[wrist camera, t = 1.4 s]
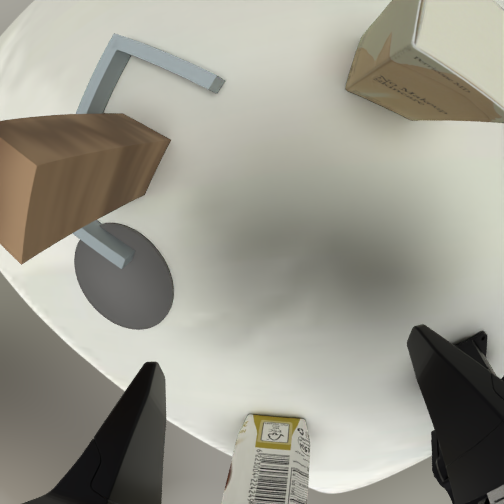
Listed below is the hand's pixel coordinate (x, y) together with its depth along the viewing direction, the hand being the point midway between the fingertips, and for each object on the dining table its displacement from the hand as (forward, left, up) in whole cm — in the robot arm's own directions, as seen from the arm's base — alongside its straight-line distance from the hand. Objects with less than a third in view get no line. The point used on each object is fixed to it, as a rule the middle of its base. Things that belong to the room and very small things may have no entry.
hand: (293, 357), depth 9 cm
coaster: (+2, +15, -12) cm, 19 cm away
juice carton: (-21, +11, -12) cm, 26 cm away
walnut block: (+10, +8, -12) cm, 18 cm away
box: (+7, -10, -12) cm, 17 cm away
